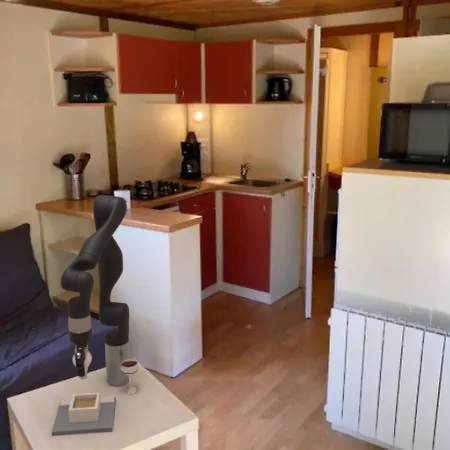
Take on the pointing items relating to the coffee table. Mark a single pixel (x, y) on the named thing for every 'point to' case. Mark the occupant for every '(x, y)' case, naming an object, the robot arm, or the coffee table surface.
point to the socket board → (85, 415)
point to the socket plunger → (85, 403)
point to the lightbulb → (87, 363)
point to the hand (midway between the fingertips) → (83, 370)
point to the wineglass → (129, 372)
